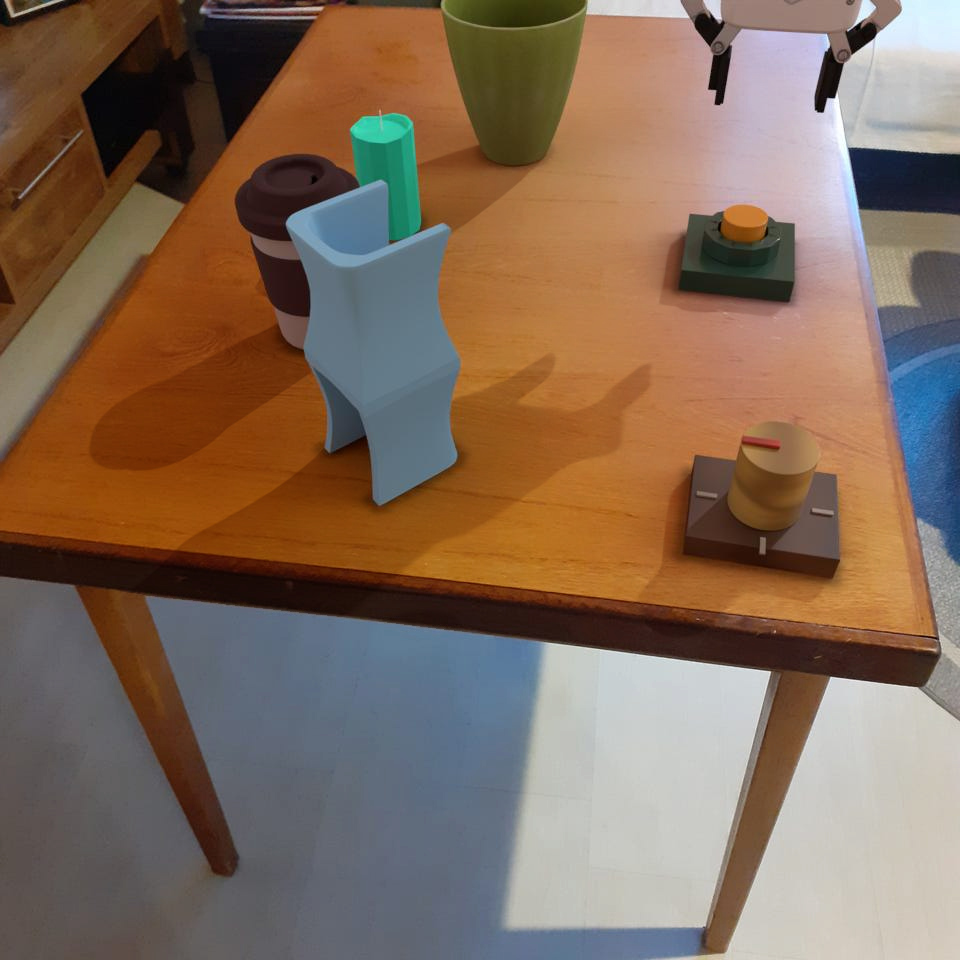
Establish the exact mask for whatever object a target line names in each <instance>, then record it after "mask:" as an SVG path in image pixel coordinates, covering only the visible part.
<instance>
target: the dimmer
mask: <svg viewBox="0 0 960 960" xmlns="http://www.w3.org/2000/svg"><path fill="white" fill-rule="evenodd" d="M735 463H736V459H729V458H722V457H716V456H715V457H714V456H708V455H701V454H700V455H699V454H694V458H693V462H692V468H691V473H690V482H689V489H688V491H689V492H688V499H687V508H686V519H685V527H684V528H685V529H684V538H683V545H682V555H683V556H690V557H695V558H696V557H697V558H703V559H708V560H709V559H711V560H716V561H721V562H728V563H735V564H741V565H746V566H753V567H758V568H764V569H765V568H766V569H771V570H777V571H783V572H791V573H796V574H802V575H803V574H804V575H809V576H815V577H821V578H827V579H834V577H835V575H836V572H837V571H838V567H839V565H840V562H841V541H840V539H841V538H840V537H841V536H840V514H839V492H838V491H839V490H838V488H839V487H838V474H836V473H829V472H823V471H815V473H814V476H813V479H812V482H811V485H810V488H809V491H808V494H807V497H806V500H805V503H804V506H803V508H802V511H801V514H800V517H799V519H798V520H797V521H796V522H795V523H794V524H793V525H791V526H790V527H788V528H785V529H782V530H777V531H765V530H759V529H756V528H752V527H750V526H748V525H746V524H744V523H743V522H741V521H740V520H738V519H737V518H736V517H735V516H734V515H733V513H732V512H731V510H730V508H729V506H728V502H727V497H728V492H729V488H730V484H731V480H732V476H733V471H734V467H735Z"/></svg>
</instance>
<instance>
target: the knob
mask: <svg viewBox="0 0 960 960" xmlns="http://www.w3.org/2000/svg"><path fill="white" fill-rule="evenodd" d="M820 458H821V448H820V446H819V444H818V442H817V440H816V439H815V438H814V437H813V435H812V434H810V433H809V432H808V431H807V430H805V429H804V428H802V427H800V426H797V425H795V424H792V423H789V422H786V421H779V420H777V421H776V420H770V421H769V420H768V421H762V422H758V423H755V424H754V425H751V426H750V427H749V428H747V429H746V430H745V431H744V433H743V434H742V437H741V439H740V443H739V447H738V452H737V455H736V459H735V460H736V463H735V467H734V471H733V476H732V480H731V484H730V488H729V492H728V497H727V502H728V506H729V508H730V510H731V512H732V513H733V515H734V516H735V517H736V518H737V519H738V520H740V521H741V522H743V523H744V524H746V525H748V526H750V527H752V528H756V529H759V530H765V531H777V530H782V529H785V528H788V527H790V526H791V525H793V524H794V523H795V522H796V521H797V520H798V519H799V517H800V514H801V511H802V508H803V506H804V503H805V500H806V497H807V494H808V491H809V488H810V485H811V482H812V479H813V476H814V473H815V472H816V469H817V466H818V464H819V462H820Z"/></svg>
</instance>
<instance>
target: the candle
mask: <svg viewBox="0 0 960 960" xmlns="http://www.w3.org/2000/svg"><path fill="white" fill-rule="evenodd" d="M378 114H379V115H377V116H376V115H375V116H372V115H371V116H370V115H369V116H368V115H367V116H362V117H360V118H359V119H358V121H356V122H355V123H354V124H353V125H352V126H351V127H350V129H349V134H350V141H351V148H352V155H353V163H354V169H355V178H356V179H357V181H358V182H359V185H360V187H363V186H365V185H368V184H370V183H373V182H376V181H378V180H383V181H384V182H385V183H387V184H388V230H389V241H396V242H397V241H401V240H403V239H405V238H408V237H410V236H413V235H415V234H417V232H419V231H420V228H421V226H422V214H421V211H422V210H421V201H420V200H421V199H420V190H419V188H420V187H419V179H418V178H419V177H418V166H417V153H416V142H415V129H414V122H413V121H412V120H411V119H410V118H409V116H408V115H405V114H401V113H397V112H392V113H387V114H383V115H382V112H381V109H379V110H378Z"/></svg>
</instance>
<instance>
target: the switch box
mask: <svg viewBox="0 0 960 960" xmlns="http://www.w3.org/2000/svg"><path fill="white" fill-rule="evenodd" d="M724 211H725V210H722V211H717V212H715V213H713V214H712V215H709V214H700V213H689V214H688V221H687V228H686V235H685V240H684V248H683V254H682V255H683V256H682V261H681V267H680V275H679V280H678V287H677V290H678V291H685V292H686V291H687V292H693V293H701V294H702V293H704V294H712V295H721V296H731V297H739V298H740V297H741V298H749V299H758V300H767V301H776V302H777V301H778V302H785V303H786V302H787V303H789V302H790V301H791V298H792V295H793V291H794V286H795V283H796V259H795V258H796V223H794V222H786V221H785V222H783V221H776V220H775V219H774V218H773V217H771V216H769V215H768V222H767V226H766V231H765V235H764V237H763V239H761V240H760V241H756V242H751V243H746V242H736V241H733V240H730V239H728V238H725V237H724V236H723V235H722V234H721V231H720V229H721V224H722V218H723V213H724Z"/></svg>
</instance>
